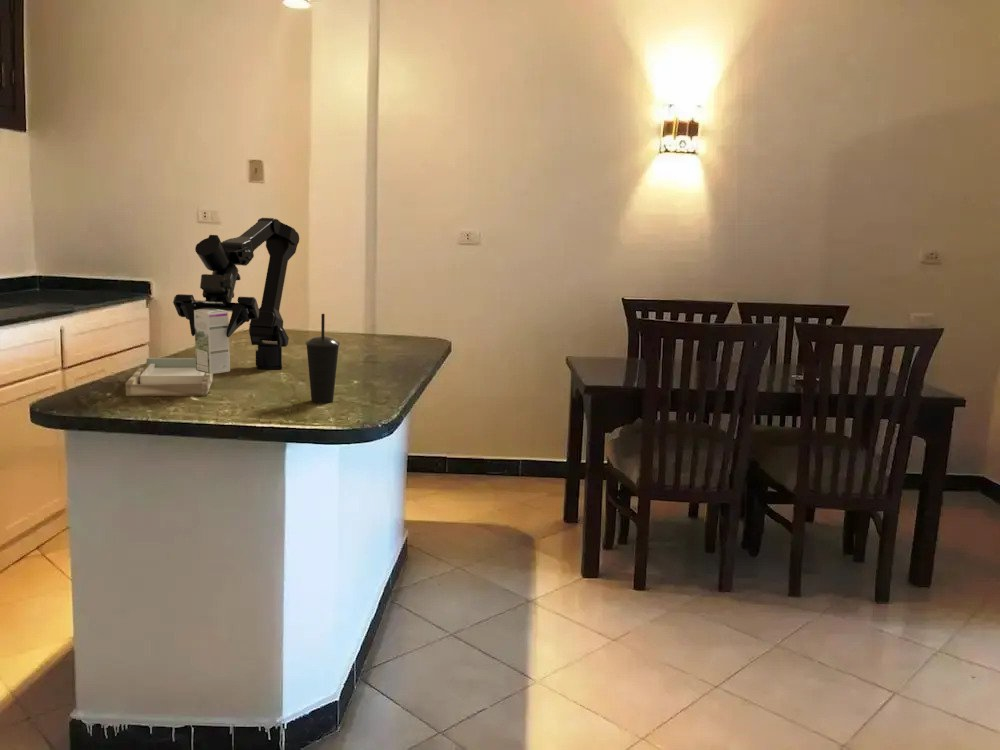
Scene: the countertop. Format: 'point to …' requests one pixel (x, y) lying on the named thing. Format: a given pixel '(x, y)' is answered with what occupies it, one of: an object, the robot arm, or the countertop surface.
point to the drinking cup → (322, 366)
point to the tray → (171, 371)
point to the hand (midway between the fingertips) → (210, 335)
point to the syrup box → (211, 340)
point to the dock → (166, 387)
